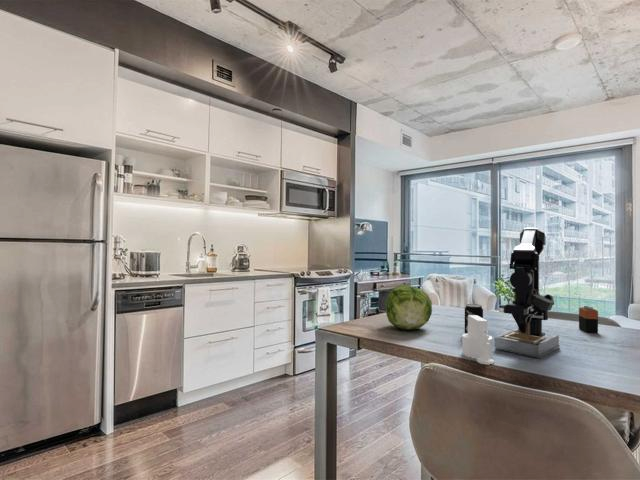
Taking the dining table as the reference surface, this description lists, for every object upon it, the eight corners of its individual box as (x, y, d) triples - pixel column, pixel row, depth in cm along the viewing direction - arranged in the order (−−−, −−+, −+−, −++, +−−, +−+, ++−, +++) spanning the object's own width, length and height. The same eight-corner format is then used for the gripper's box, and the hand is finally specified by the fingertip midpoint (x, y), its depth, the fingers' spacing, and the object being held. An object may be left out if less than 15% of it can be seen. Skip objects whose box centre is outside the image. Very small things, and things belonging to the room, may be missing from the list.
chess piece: (473, 359, 117) (473, 327, 117) (489, 359, 117) (489, 327, 117) (481, 364, 112) (481, 331, 112) (497, 364, 112) (497, 331, 112)
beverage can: (484, 338, 141) (484, 306, 141) (466, 337, 142) (466, 306, 142) (480, 334, 147) (481, 304, 147) (463, 333, 149) (463, 303, 149)
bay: (516, 339, 140) (516, 327, 140) (559, 347, 129) (559, 335, 129) (493, 349, 127) (493, 336, 127) (539, 359, 117) (539, 345, 117)
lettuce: (386, 336, 146) (394, 292, 144) (380, 316, 169) (387, 277, 167) (436, 344, 146) (444, 299, 143) (423, 322, 169) (430, 284, 166)
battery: (586, 332, 150) (586, 307, 150) (578, 329, 157) (578, 305, 157) (598, 333, 149) (598, 308, 149) (590, 329, 156) (590, 305, 156)
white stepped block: (458, 350, 126) (458, 315, 126) (485, 351, 126) (485, 315, 126) (468, 359, 117) (468, 320, 117) (497, 359, 117) (497, 321, 117)
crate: (513, 341, 133) (513, 317, 133) (544, 347, 125) (544, 322, 125) (503, 345, 128) (503, 321, 128) (535, 352, 120) (535, 326, 120)
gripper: (540, 290, 114) (540, 342, 114) (560, 286, 127) (560, 332, 127) (502, 287, 123) (502, 335, 123) (525, 283, 135) (524, 326, 135)
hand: (524, 332), depth 127 cm, fingers closed on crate, 2 cm apart
